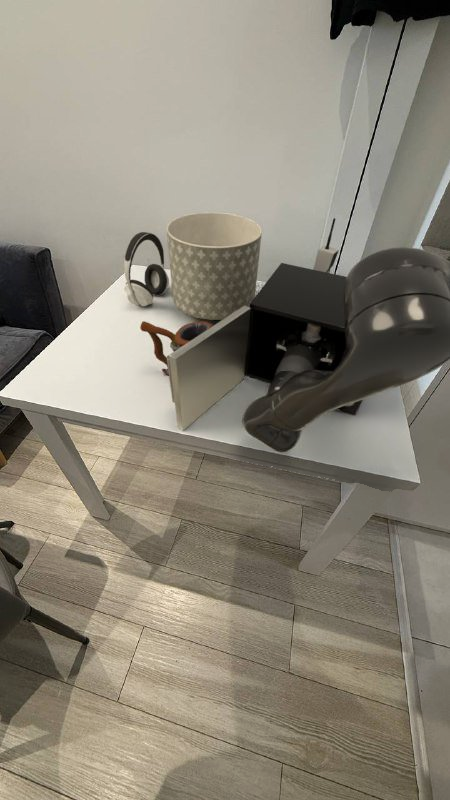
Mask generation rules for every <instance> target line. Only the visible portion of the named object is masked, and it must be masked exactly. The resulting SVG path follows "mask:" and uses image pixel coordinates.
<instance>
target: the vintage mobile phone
mask: <svg viewBox="0 0 450 800" xmlns="http://www.w3.org/2000/svg"><path fill="white" fill-rule="evenodd" d="M335 223H336V218H335V217H333V219H332V223H331V226H330V231H329V235H328V236H327V241H326V245H323V246H321V247H320V248H318V249H317V253H316V257H315V261H314V266H313V270H317V271H322V272H326V273H330V272H331V269H332V267H334V265H335V262H336V259H337V256H338V254H339V251H340V250H339V249H337V248H335V247H331V246H330V244H331V240H332V236H333V235H332V234H333V231H334V227H335Z"/></svg>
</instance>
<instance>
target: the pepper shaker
mask: <svg viewBox="0 0 450 800" xmlns="http://www.w3.org/2000/svg"><path fill="white" fill-rule="evenodd" d="M321 327H322V326H318V325H314V324H310V323H308V325H307V331H304V332H302V334H301V337H302V340H304V341H307V342H311V343H315V342H316V341H318V340H321V339H322V338H321V336H320V334H319V332H320V330H321Z"/></svg>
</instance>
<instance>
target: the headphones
mask: <svg viewBox="0 0 450 800" xmlns="http://www.w3.org/2000/svg"><path fill="white" fill-rule="evenodd" d="M145 241H151V242H152V243H153V244H154V246H155V247H156V249H157V251H158V255H159V256H160V257H159V258H160V264H157V263H151V264H149V265H148V266H147V267H146V268H145V270H144V282H142V281H139V280H137V279H132V278H131V271H132V270H131V269H132V264H133V260H134V257H135V254H136V253H137V252H136V251H137V250H138V248H139V247H140V245H141V244H142V243H144V242H145ZM123 271H124V276H125V281H126V282H125V285H124V287H123V288H124V292H125V294H126V298H127V300H128V301H129V302H130V303H131V304H133V305H135V306H138V307H140V306H141V307H147V306H148V305H149V306H150V305H152V304H153V302H154V296H162V295H163V294H165V293H166V291H167V290H168V287H169V284H170V277H169V275H168V274H167V270H166V269H165V254H164V248H163V244H162V242H161V240H160V239H159V237H158V236H157V235H156V234H154V233H152V232H148V231H141V232H138V233H136V234H134V235H133V236H132V238H131V239H130V240H129V242H128V244H127V246H126V250H125V253H124V261H123Z"/></svg>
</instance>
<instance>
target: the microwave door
mask: <svg viewBox="0 0 450 800" xmlns="http://www.w3.org/2000/svg"><path fill="white" fill-rule="evenodd" d="M250 311H251V308H249V307H247V306H243V307H241V308H240V309H238V310H237V311H235V312H234V313H232V314H231V315H229V316H228V317H226V318H225V319H221V320H220V321H218V322H217V323H216V324H214V325H213V326H212V327H211V328H209V329H208V330H206V331H205V332H203V333H202V334H200V335H199V336H197V337H196V338H194V339H193V340H191V341H190V342H188V343H187V344H185V345H183V346H182V347H180V348H179V349H177V350H176V351H173V352H171V353H170V354H168V355H166V357H167V362H168V367H167V369H168V370H169V375H168V377H169V386H170V393H171V394H170V395H171V401H172V403H174V407H175V416H176V424H177V428H178V429H179V430H181V431H182V432H184V431H185V430H187V428H188V427H189V426H191V425H192V424H193V423H194V422H195V421H197V420H198V419H199V418H200V417H201V416H203V414H205V413H206V412H207V411H208V410H209V409H210V408H211V407H213V406H214V405H215V404H216V403H218V402H219V401H220V400H221V399H222V398H223V397H224V396H225V395H227V394H228V393H229V392H231V391H232V390H233V389H234V388H235V387H236V386H237V385H238V384H239V383H241V382H242V381H243V380H244V379H245V376H244V372H245V362H246V352H247V341H248V331H249V321H250Z"/></svg>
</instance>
